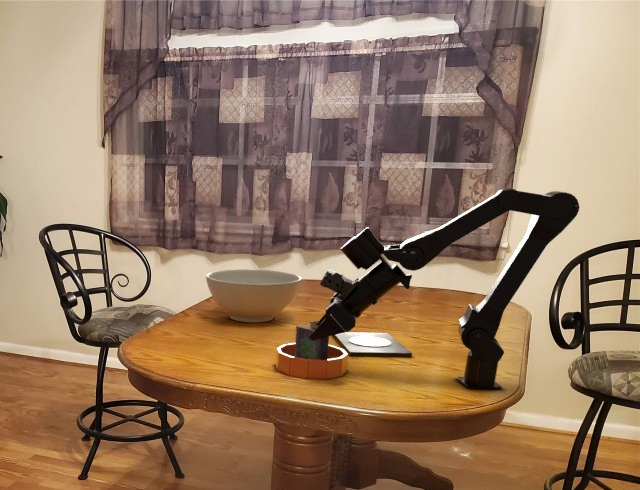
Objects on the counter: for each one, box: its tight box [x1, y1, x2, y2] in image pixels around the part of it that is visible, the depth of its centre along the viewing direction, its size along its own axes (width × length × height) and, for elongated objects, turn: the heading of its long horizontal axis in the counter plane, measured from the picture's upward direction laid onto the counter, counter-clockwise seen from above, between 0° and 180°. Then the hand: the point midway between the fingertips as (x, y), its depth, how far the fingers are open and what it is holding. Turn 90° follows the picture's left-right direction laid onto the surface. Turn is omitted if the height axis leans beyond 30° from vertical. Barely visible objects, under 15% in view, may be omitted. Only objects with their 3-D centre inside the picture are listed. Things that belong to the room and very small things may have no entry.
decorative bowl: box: [205, 268, 303, 323], centre depth 197 cm, size 27×27×12 cm
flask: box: [294, 320, 330, 359], centre depth 148 cm, size 9×3×11 cm, turn 28°
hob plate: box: [331, 331, 413, 358], centre depth 168 cm, size 20×14×1 cm
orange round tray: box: [274, 342, 349, 380], centre depth 149 cm, size 15×15×4 cm
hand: (312, 334), depth 147 cm, fingers open, 9 cm apart
